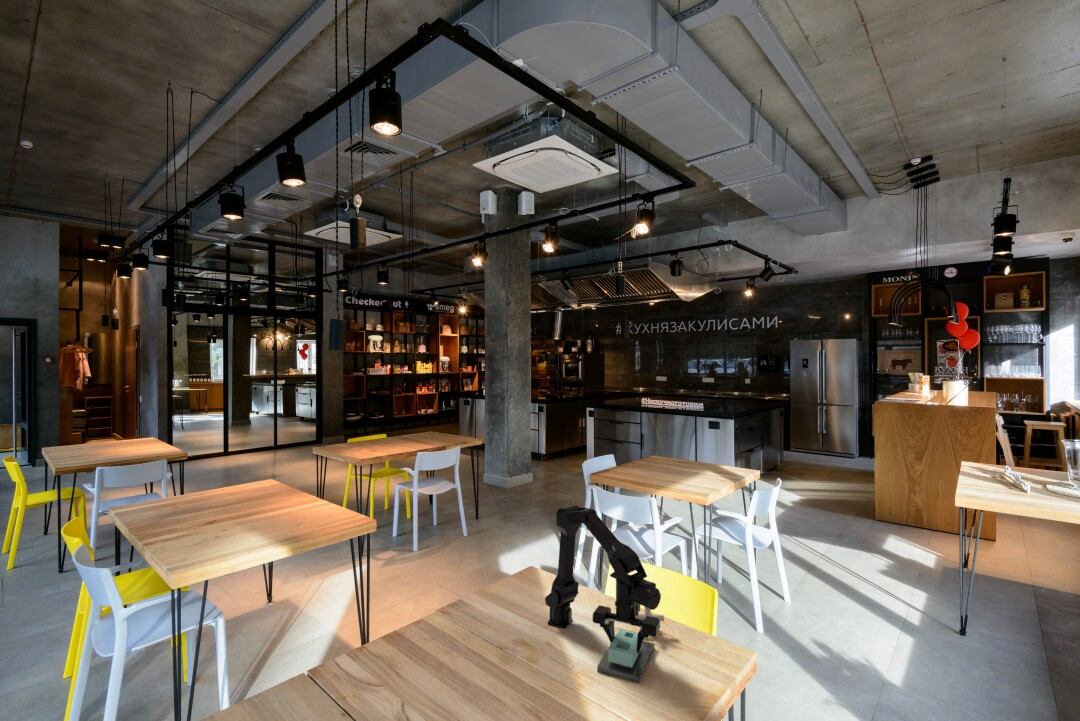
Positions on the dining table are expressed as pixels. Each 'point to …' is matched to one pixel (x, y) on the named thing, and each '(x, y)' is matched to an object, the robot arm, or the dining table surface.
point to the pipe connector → (648, 613)
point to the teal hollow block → (624, 648)
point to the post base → (625, 671)
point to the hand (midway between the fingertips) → (625, 649)
